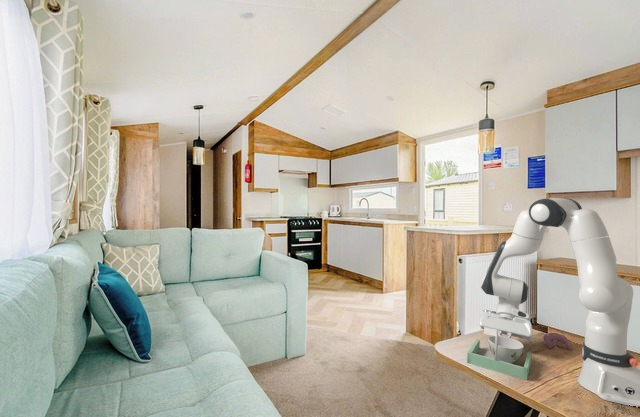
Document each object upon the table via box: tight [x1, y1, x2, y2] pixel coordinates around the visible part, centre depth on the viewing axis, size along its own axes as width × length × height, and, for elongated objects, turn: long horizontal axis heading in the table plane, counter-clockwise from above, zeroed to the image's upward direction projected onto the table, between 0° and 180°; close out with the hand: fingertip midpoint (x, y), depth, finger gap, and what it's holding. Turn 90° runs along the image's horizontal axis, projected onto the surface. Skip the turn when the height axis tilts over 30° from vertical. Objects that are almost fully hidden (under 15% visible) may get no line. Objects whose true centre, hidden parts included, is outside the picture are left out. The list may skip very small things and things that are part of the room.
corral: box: [466, 327, 532, 381], centre depth 130 cm, size 20×17×16 cm
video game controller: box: [542, 332, 572, 351], centre depth 145 cm, size 10×5×7 cm, turn 85°
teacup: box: [487, 335, 524, 364], centre depth 133 cm, size 15×12×8 cm
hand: (503, 342), depth 137 cm, fingers closed, pressing on teacup
